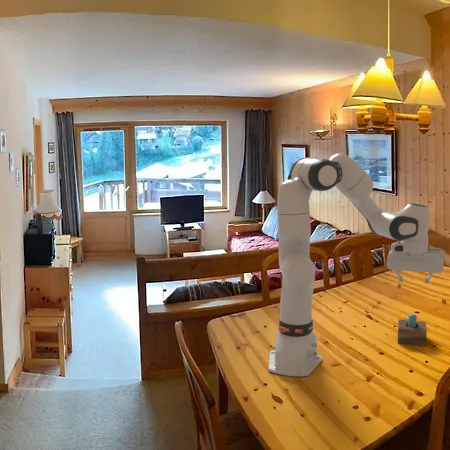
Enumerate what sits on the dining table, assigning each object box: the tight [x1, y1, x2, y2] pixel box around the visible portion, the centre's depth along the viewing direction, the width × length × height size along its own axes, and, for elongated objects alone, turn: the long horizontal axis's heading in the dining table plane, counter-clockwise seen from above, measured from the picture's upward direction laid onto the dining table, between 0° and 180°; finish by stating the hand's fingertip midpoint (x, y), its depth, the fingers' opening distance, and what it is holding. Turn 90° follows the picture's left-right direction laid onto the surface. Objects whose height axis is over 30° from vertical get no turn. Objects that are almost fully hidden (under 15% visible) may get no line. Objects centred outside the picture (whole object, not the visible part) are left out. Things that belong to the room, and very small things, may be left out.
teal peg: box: [407, 313, 418, 328], centre depth 204 cm, size 3×3×10 cm
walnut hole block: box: [397, 319, 428, 347], centre depth 204 cm, size 10×10×6 cm
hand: (413, 282), depth 201 cm, fingers open, 8 cm apart
